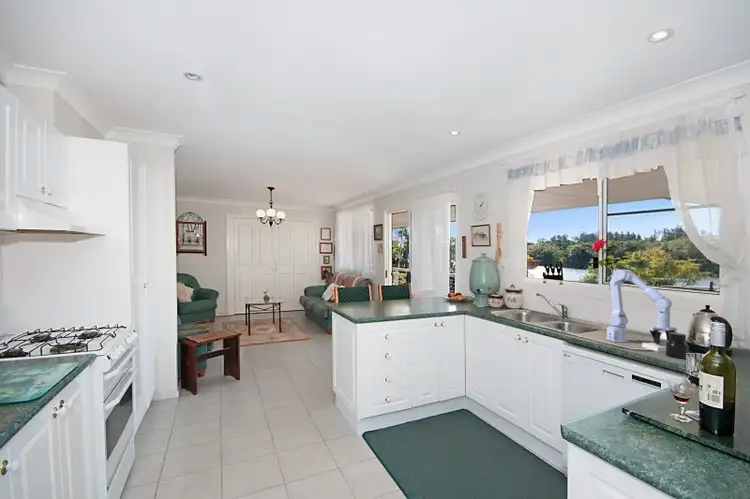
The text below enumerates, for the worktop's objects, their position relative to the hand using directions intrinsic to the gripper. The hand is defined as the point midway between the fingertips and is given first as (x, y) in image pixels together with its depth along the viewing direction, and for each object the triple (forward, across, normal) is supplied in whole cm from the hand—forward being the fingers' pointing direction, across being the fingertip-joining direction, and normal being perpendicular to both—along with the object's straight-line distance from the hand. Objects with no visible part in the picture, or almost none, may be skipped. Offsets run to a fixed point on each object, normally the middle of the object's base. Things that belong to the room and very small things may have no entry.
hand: (663, 343), depth 196 cm
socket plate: (+3, 0, 0) cm, 3 cm away
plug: (+3, 0, 0) cm, 3 cm away
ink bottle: (+3, -7, -15) cm, 17 cm away
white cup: (0, +18, +16) cm, 24 cm away
